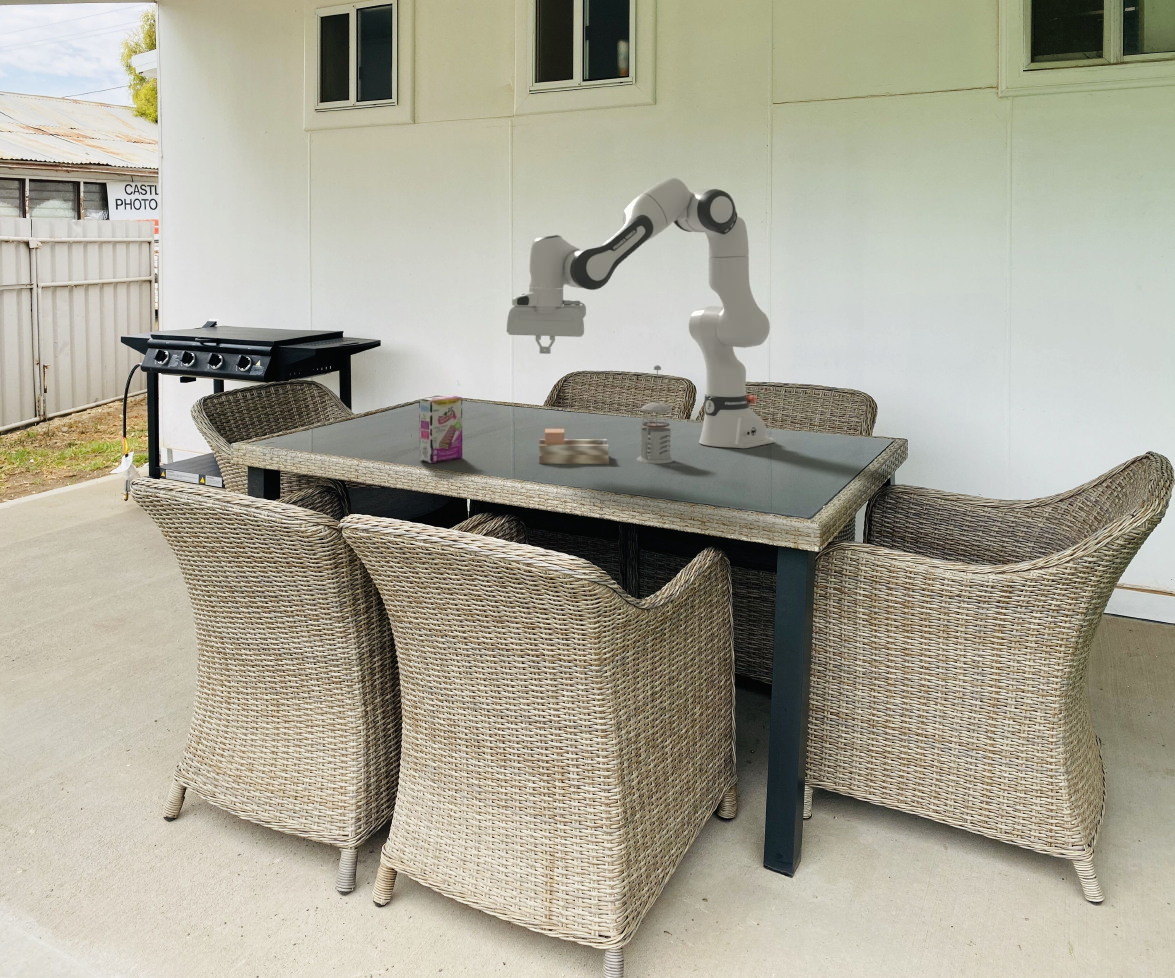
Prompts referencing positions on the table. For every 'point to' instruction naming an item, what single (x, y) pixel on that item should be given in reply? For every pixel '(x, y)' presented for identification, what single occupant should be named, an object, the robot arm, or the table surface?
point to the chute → (575, 452)
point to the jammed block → (554, 436)
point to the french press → (655, 434)
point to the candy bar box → (440, 428)
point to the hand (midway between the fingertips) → (544, 353)
